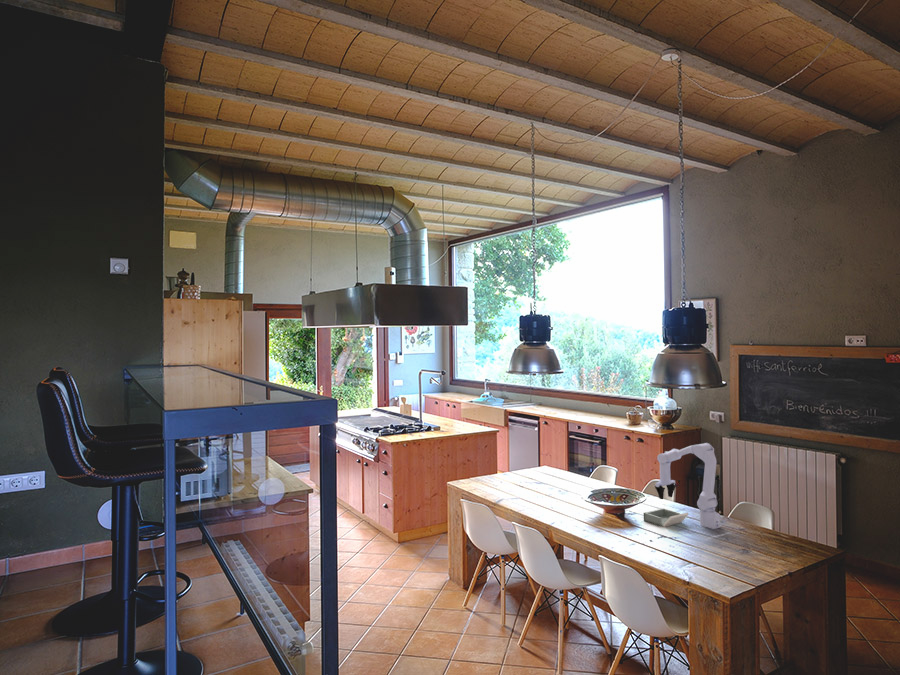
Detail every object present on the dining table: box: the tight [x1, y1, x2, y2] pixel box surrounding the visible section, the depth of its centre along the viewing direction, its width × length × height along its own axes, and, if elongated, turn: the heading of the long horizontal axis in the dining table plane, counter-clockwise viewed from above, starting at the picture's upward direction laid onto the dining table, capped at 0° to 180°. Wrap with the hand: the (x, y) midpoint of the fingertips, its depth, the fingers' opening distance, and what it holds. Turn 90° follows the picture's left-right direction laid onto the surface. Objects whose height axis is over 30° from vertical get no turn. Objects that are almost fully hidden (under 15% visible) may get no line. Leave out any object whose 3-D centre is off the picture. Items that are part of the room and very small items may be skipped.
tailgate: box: [661, 512, 690, 528], centre depth 291 cm, size 8×14×1 cm
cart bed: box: [643, 508, 681, 527], centre depth 298 cm, size 11×16×5 cm
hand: (665, 497), depth 312 cm, fingers open, 7 cm apart
